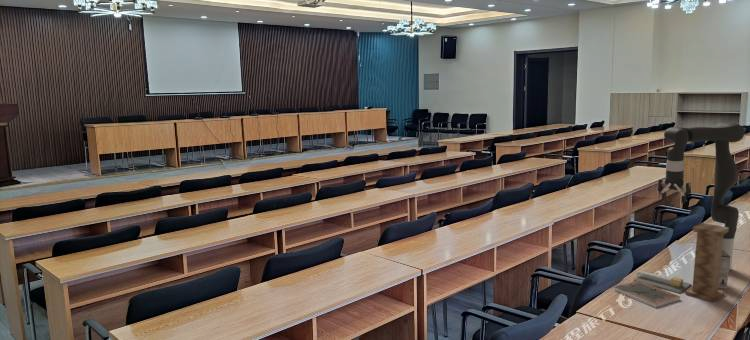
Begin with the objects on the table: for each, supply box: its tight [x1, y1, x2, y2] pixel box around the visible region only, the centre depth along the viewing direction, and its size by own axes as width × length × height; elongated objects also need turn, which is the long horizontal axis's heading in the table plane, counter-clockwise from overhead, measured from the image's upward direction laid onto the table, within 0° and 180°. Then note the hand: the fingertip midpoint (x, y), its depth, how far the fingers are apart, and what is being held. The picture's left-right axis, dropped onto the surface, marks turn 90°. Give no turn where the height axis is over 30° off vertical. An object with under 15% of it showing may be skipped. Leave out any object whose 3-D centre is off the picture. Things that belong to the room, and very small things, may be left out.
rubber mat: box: [633, 277, 693, 294], centre depth 261 cm, size 21×14×1 cm, turn 41°
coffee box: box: [718, 250, 730, 289], centre depth 256 cm, size 9×6×16 cm
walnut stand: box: [685, 222, 729, 303], centre depth 244 cm, size 12×12×32 cm
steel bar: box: [636, 270, 684, 288], centre depth 261 cm, size 20×4×4 cm, turn 41°
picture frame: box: [613, 280, 681, 308], centre depth 248 cm, size 16×2×22 cm
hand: (673, 201), depth 262 cm, fingers open, 8 cm apart
